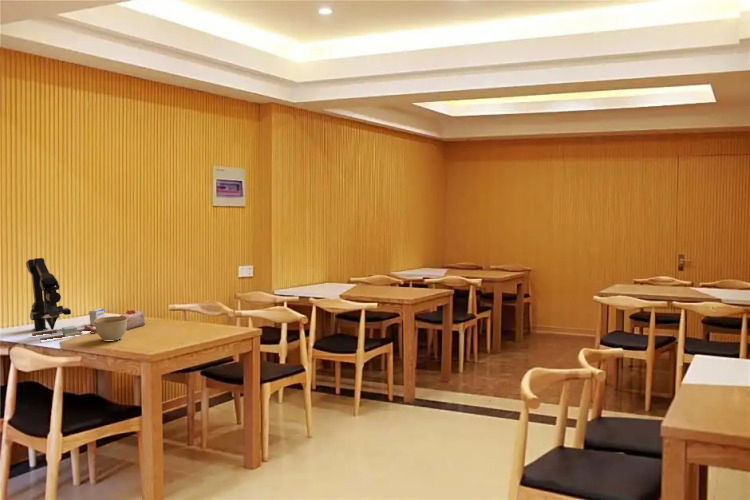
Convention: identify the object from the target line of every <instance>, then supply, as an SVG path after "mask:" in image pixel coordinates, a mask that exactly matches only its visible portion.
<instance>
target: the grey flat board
mask: <svg viewBox="0 0 750 500" xmlns="http://www.w3.org/2000/svg"><path fill="white" fill-rule="evenodd" d="M83 327H84V328H82V329H77V332H76V333H69V334H63V335H62V328H58V329H53V330H51V329H49V330H42V331H36V332H32V333H31V336H36V335H43V334H51V335H53V334H52V333H58V334H59V335H57V334H56V335H53V336H44V337H41V338H39V341H40V340H47V339H53V338H62V337H68V336H75V335H81V336H82V333H81V332H82V331H91V332H94V333H96V334H98V333H97V331H96V328H95V327H94V326H90V325H89V324H84V326H83ZM94 333H93V334H94Z"/></svg>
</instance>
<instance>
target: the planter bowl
mask: <svg viewBox="0 0 750 500" xmlns="http://www.w3.org/2000/svg"><path fill="white" fill-rule="evenodd" d="M127 320H128V318H127V317H121V316H120V315H119V316H116V315H115V316H104V318H99V319H96V320H94V323H95V326H94V328H95V329H96V331H97V333H96V334H98V336H99V337H100V338H101V341H102V340H118V341H120V340H119V339H121V340H123V337H124V334H125V333H126V328H127Z"/></svg>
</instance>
